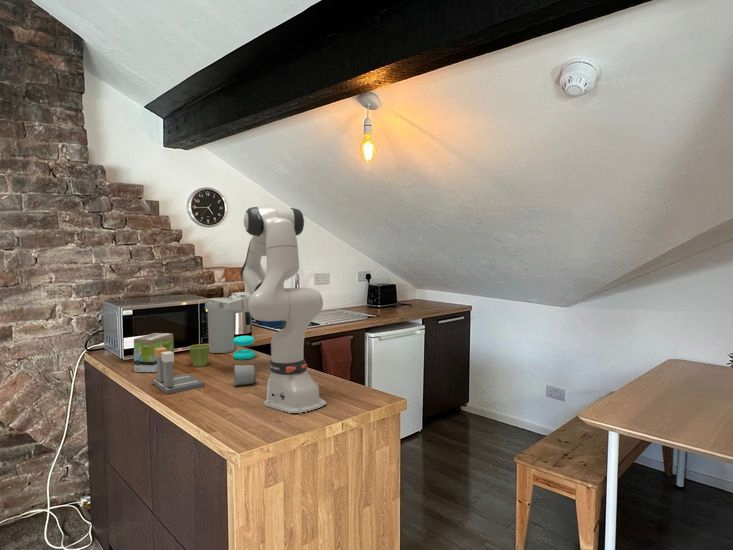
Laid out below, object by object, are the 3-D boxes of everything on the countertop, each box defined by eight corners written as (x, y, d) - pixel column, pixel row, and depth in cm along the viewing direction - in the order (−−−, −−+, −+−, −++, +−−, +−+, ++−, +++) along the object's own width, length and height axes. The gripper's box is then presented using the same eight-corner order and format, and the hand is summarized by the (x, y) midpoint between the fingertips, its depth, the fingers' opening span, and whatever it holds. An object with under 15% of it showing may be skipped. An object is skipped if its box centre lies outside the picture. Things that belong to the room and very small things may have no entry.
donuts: (258, 336, 229) (241, 340, 221) (259, 357, 229) (242, 361, 222) (245, 334, 235) (228, 337, 227) (245, 354, 235) (229, 358, 228)
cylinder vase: (228, 347, 252) (226, 300, 250) (238, 351, 242) (237, 302, 241) (205, 351, 244) (203, 302, 242) (214, 355, 234) (213, 304, 233)
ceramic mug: (256, 385, 184) (256, 365, 184) (234, 388, 181) (234, 368, 181) (253, 378, 194) (253, 360, 194) (232, 381, 191) (232, 362, 191)
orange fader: (168, 380, 185) (167, 348, 184) (159, 382, 183) (158, 350, 182) (164, 378, 188) (163, 347, 188) (156, 379, 186) (154, 348, 186)
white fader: (175, 386, 178) (173, 353, 177) (166, 387, 176) (164, 354, 175) (171, 383, 181) (169, 351, 180) (162, 385, 179) (161, 352, 178)
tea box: (155, 373, 203) (153, 339, 202) (133, 373, 204) (132, 338, 203) (175, 364, 217) (173, 332, 216) (154, 364, 219) (153, 332, 218)
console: (204, 386, 183) (204, 382, 183) (166, 394, 174) (166, 390, 174) (187, 376, 197) (187, 373, 197) (151, 383, 188) (151, 379, 188)
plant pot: (187, 364, 218) (186, 345, 217) (209, 361, 222) (208, 343, 221) (190, 369, 209) (189, 349, 209) (212, 366, 214) (211, 347, 213)
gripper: (227, 293, 213) (196, 296, 204) (248, 296, 197) (216, 299, 188) (228, 307, 213) (197, 310, 204) (249, 312, 197) (216, 315, 188)
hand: (206, 305), depth 196 cm, fingers closed
